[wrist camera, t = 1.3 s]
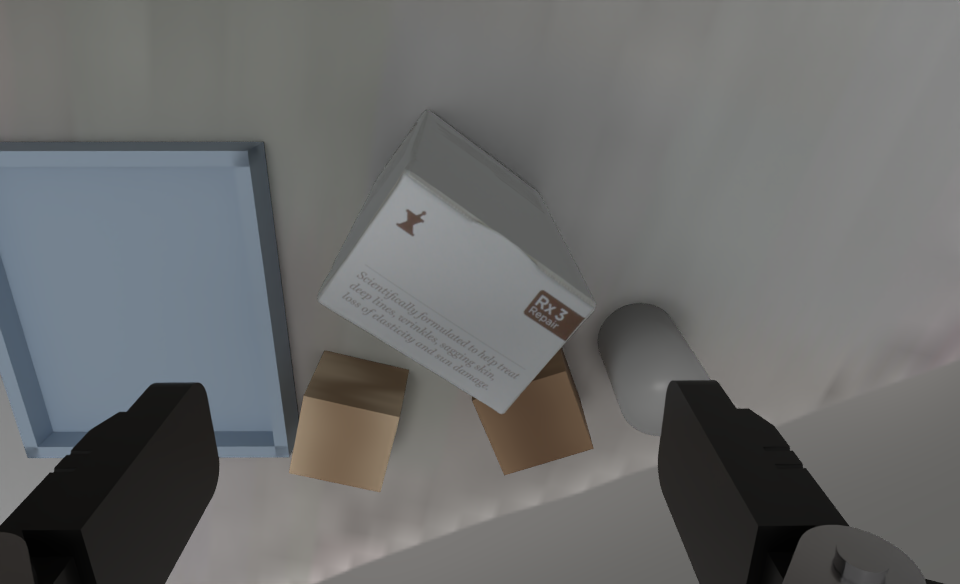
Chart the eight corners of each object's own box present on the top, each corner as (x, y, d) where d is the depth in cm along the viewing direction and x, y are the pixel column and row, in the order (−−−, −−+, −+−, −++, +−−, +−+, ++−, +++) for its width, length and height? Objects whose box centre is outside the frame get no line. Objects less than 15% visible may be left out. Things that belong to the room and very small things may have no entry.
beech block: (409, 368, 31) (399, 417, 27) (391, 437, 32) (380, 492, 28) (325, 349, 30) (303, 395, 27) (311, 420, 32) (288, 473, 28)
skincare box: (369, 189, 27) (294, 307, 16) (430, 100, 26) (395, 160, 15) (487, 271, 29) (494, 431, 17) (551, 190, 27) (603, 308, 16)
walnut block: (554, 327, 30) (565, 370, 26) (579, 397, 31) (593, 448, 28) (472, 354, 30) (471, 400, 27) (501, 422, 32) (504, 475, 28)
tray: (263, 141, 26) (247, 150, 25) (300, 431, 32) (289, 457, 30) (-33, 142, 26) (-72, 151, 25) (54, 432, 32) (28, 457, 30)
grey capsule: (680, 303, 29) (718, 356, 25) (671, 373, 31) (705, 435, 26) (600, 303, 29) (623, 356, 25) (595, 373, 31) (616, 435, 26)
